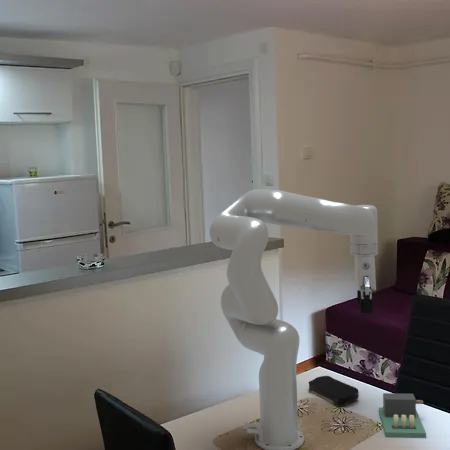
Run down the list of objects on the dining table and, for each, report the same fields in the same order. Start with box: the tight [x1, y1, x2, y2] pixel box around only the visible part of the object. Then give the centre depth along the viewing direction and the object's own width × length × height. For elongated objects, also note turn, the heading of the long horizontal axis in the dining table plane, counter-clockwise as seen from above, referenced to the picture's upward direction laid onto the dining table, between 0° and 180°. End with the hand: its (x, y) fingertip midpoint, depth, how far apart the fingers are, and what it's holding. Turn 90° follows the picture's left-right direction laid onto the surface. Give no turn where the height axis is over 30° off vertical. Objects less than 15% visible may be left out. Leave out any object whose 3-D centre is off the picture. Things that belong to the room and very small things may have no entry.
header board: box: [378, 406, 427, 439], centre depth 160 cm, size 10×15×4 cm, turn 172°
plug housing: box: [382, 392, 424, 418], centre depth 163 cm, size 10×4×5 cm, turn 82°
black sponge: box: [308, 375, 360, 407], centre depth 180 cm, size 16×8×4 cm, turn 31°
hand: (364, 308), depth 171 cm, fingers open, 9 cm apart
